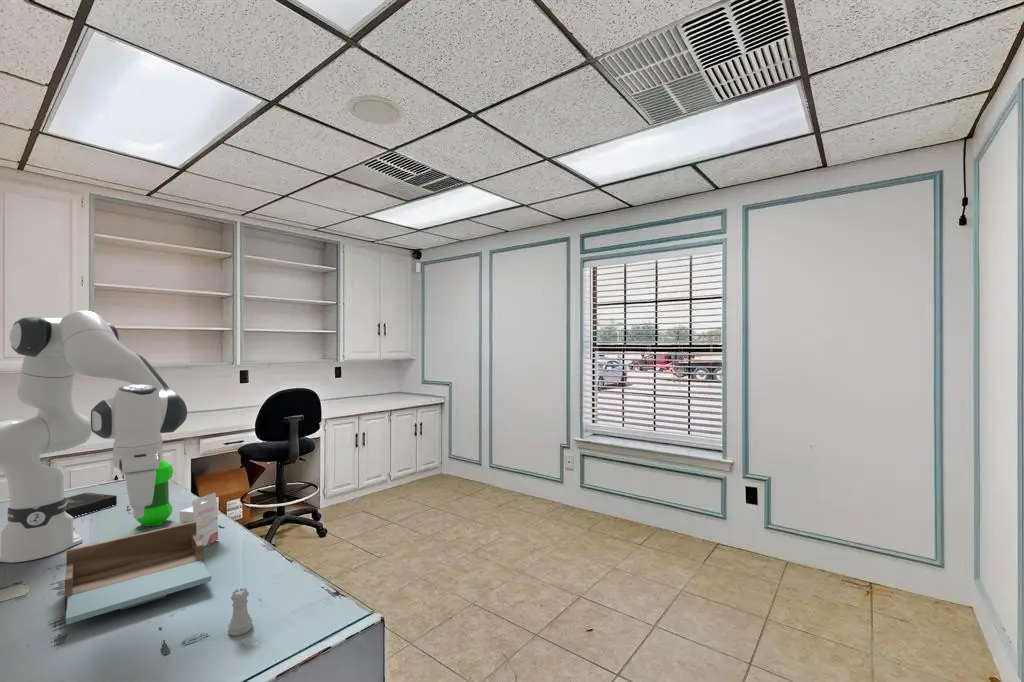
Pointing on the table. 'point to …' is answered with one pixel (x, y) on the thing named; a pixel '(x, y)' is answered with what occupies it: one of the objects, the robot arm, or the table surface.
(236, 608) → the rook chess piece
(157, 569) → the brown long open box
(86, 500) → the flat black box
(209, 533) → the ink cartridge box
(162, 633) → the table surface
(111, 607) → the drawer face panel
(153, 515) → the plastic bottle
